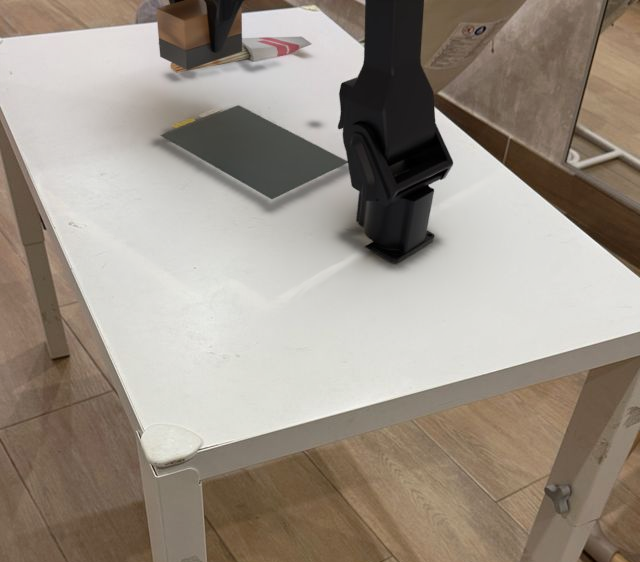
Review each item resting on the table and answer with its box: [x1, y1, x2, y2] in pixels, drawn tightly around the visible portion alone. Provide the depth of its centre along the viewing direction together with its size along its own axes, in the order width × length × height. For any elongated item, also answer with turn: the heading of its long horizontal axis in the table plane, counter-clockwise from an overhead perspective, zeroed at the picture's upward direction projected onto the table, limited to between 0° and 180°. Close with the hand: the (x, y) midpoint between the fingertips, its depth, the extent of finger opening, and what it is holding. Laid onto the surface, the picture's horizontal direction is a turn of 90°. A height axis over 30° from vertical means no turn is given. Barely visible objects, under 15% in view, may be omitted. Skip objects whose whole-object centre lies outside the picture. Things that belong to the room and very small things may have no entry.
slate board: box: [160, 104, 348, 200], centre depth 91 cm, size 18×12×1 cm, turn 47°
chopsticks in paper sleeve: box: [170, 36, 313, 73], centre depth 108 cm, size 4×3×20 cm
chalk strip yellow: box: [171, 117, 197, 129], centre depth 95 cm, size 1×3×1 cm
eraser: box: [155, 0, 243, 71], centre depth 88 cm, size 4×8×5 cm, turn 137°
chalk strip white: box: [198, 107, 221, 118], centre depth 97 cm, size 1×3×1 cm
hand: (201, 45), depth 89 cm, fingers closed on eraser, 4 cm apart
